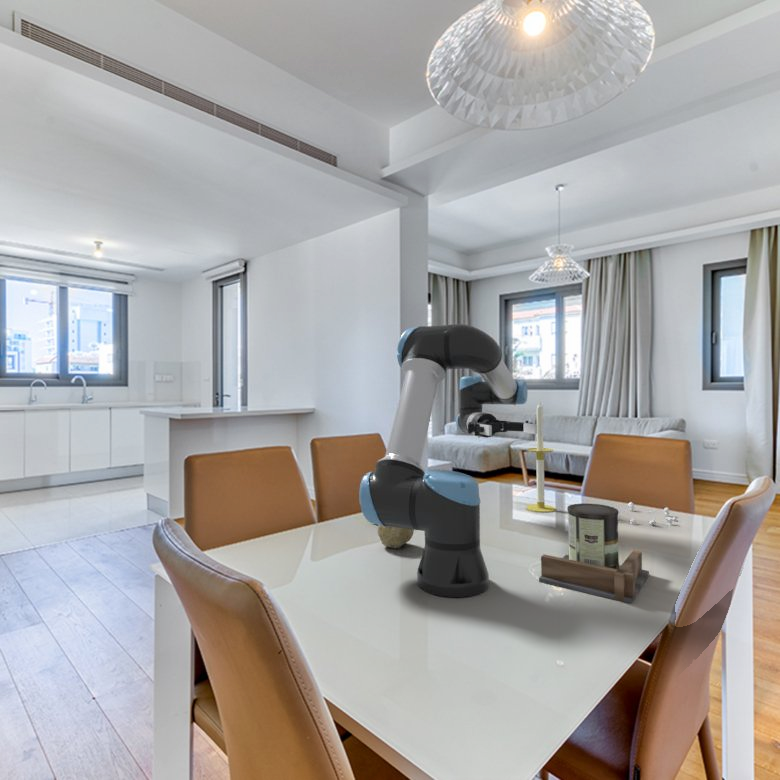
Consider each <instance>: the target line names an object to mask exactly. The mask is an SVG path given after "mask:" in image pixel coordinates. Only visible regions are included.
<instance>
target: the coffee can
mask: <svg viewBox="0 0 780 780" xmlns="http://www.w3.org/2000/svg"><path fill="white" fill-rule="evenodd" d="M610 506H611V505H607V504H606V505H605V504H599V503H588V502H587V503H583V502H582V503H574V504H573V503H572V504H570V505H568V506H567V513H568V514H567V515H568V516H567V517H568V518H567V519H568V520H567V523H568V555H569V560H574V561H579V562H584V563H589V564H594V565H599V566H604V567H609V568H614V569H619V565H620V563H619V562H620V561H619V559H620V558H619V522H618V521H619V520H618V517H619V514H618V513H619V512H618V511H619V510H618V508H617V507H616V508H617V509H616V508H615V507H614V506H613V507H610Z"/></svg>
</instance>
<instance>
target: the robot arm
mask: <svg viewBox="0 0 780 780" xmlns="http://www.w3.org/2000/svg"><path fill="white" fill-rule="evenodd" d="M396 350H397V355H396V359H397V363H398V365H399V367H400V368H401V372H402V373H403V375H404V378H403V384H402V387H401V392H400V395H399V399H398V402H397V403H398V404H397V408H396V411H395V415H394V420H393V423H392V427H391V431H390V435H389V440H388V443H387V446H386V447H387V448H386V451H385V456H383V458H380V459H378V460H377V462H376V463H375V469H374V471H369V472H366V473H365V474H364V476H362V478H361V480H360V481H361V482H360V485H359V506H360V509H361V512H362V513H361V514H362V515H363V516H364V518H365V519H366V520H367V521H368V522H369V523H370V524H374V525H377V526H378V525H382V526H384V527H388V526H389V527H397V528H406V529H414V531H423V532H424V548H423V552H422V555H421V558H420V562H419V565H418V568H417V571H416V577H417V579H416V581H417V585H418V587H419V588H420V589H422V590H423V591H425V592H426V593H429V594H432V595H436V596H441V597H449V598H466V597H472V596H476V595H479V594H482V593H484V592H485V591H486V590H487V589H488V588H489V585H490V576H489V575H490V574H489V571H488V568H487V565H486V562H485V559H484V556H483V552H482V550H481V536H480V535H481V530H480V529H481V527H480V526H481V523H480V521H481V520H480V519H481V516H480V515H481V512H480V511H481V510H480V509H481V508H480V506H481V505H480V504H481V498H480V486H479V483H478V481H477V480H476V479H475V478H474V477H472V476H471V475H468V474H466V473H462V472H460V471H455V470H448V469H447V470H446V469H443V470H441V469H430V470H426V471H425V470H424V469H423V467H422V465H421V464H422V460H423V455H424V450H425V445H426V441H427V437H428V436H427V435H428V431H429V425H430V423H431V422H430V421H431V416H432V412H433V407H434V403H435V402H434V401H435V398H436V397H435V396H436V394H437V393H436V392H437V388H438V383H440V382H442V381H443V380H444V379H445V377H446V374H447V370H457V369H458V370H459V369H462V370H464V369H467V370H471V371H473V372H475V373H477V374H478V375H479V376H478V375H475V376H473V375H472V376H471V375H470V376H469V375H467V376H466V375H465V376H462V377H461V378H460V379H459V390H458V391H459V414H458V415H457V416H456V417H455V418H456V419H455V425H456V427H457V429H458V430H459V432H460V431H461V432H463V433H464V434H466V435H474V436H475V437H477V438H482V437H483V438H486V439H487V438H492V437H493V436H495V435H496V434H497V433H507V432H523V433H527V434H532V435H537V423H534V422H531V421H530V422H529V420H525V422H521V421H510V420H499V419H498V418H496V416H495V415H493V414H492V413H487V412H483V405H507V406H508V405H513V406H516V405H524V404H526V402H527V401H528V385H527V383H526V382H525V381H521V380H515V379H514V377H513V375H512V373H511V372H510V370H509V368H508V366H507V365H506V363H505V362H504V360H503V353H502V350H501V347H500V345H499V344H498V342H497V341H496V340H495V339H494V338H493V337H492V336H490V335H489V334H488V333H486V332H485V331H483V330H481V329H479V328H477V327H475V326H472V325H469V324H464V323H456V324H443V325H429V326H427V325H426V326H425V325H424V326H423V325H419V326H416V327H415V326H414V327H410V328H407V329H406V330H404V331H403V333H402V334H401V336H400V338H399V340H398V343H397V348H396Z"/></svg>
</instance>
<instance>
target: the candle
mask: <svg viewBox="0 0 780 780" xmlns="http://www.w3.org/2000/svg"><path fill="white" fill-rule="evenodd" d="M537 404H538V405H537V406H536V424H537V434H536V447H529V448H527V449H526V450H527V451H528V452H531V453H536V455H535V458H536V459H535V460H536V503H535V504H529V505H528V504H527V505H526V506H525V509H526V510H527V511H530V512H535V513H543V514H545V513H555V512H556V511H557V509H556V507H555V506H552V505H548V504H545V453H551V452H554V450H553V449H552V448H547V447H546V448H544V406H543V405H542V402H541V399H539V401H538V403H537Z"/></svg>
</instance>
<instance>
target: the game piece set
mask: <svg viewBox="0 0 780 780" xmlns="http://www.w3.org/2000/svg"><path fill="white" fill-rule="evenodd" d="M619 505H620V504H619V503H617V506H616V509H617V510H618V508H619ZM609 506H610V507H613V508H614V506H613V505H612V504H611V505H609ZM627 506H628V507H629V509H630V510H631V511H630V512H634V510H635V507H634V506H635V504H634V503H633V502H632V501H630V502H629V503H628V504H627ZM654 511H655V508H654V509H653V510H648V512H653V513H654ZM663 511H664V515H665V519H666V522H667V523H666V525H667V524H669V525H668V526H674V524H673V522H677V521H678V520H677V519H678V518H676V516H675V515H673V517H671V516H670V508H669V507H668V506H667V507H664V509H663ZM620 513H621V511H620V510H618V521H619V520H620V519H621V515H620ZM619 515H620V516H619ZM629 522H630V523H629V524H630V525H632V524H636V525H637V520H636V517H634V518H633V517H631V518H630V521H629ZM648 524H650V525H654V526H655V525H657V524H658V523H657V522H656V519H655V518H652V520H649V522H648Z"/></svg>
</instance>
